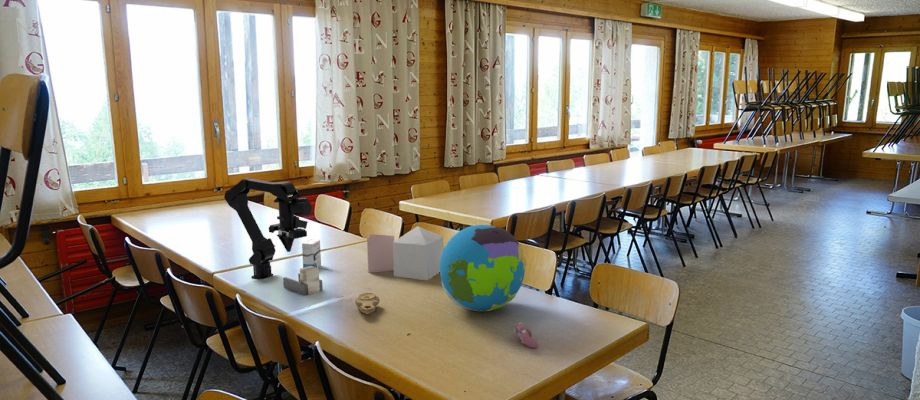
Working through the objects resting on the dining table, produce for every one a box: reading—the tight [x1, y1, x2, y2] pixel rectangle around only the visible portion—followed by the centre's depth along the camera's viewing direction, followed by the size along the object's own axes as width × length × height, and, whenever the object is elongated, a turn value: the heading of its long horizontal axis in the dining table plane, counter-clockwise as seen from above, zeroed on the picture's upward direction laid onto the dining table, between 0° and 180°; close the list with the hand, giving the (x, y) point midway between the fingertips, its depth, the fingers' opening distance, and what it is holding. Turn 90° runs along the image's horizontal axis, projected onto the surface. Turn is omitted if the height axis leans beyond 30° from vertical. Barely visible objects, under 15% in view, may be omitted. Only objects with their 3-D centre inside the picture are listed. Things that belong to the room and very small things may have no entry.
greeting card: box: [366, 233, 395, 273], centre depth 260 cm, size 11×7×15 cm, turn 71°
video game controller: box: [513, 322, 539, 349], centre depth 187 cm, size 10×5×7 cm, turn 6°
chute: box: [282, 272, 323, 296], centre depth 235 cm, size 14×8×5 cm, turn 49°
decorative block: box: [393, 226, 444, 281], centre depth 256 cm, size 16×16×20 cm
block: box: [299, 266, 321, 296], centre depth 231 cm, size 5×5×9 cm
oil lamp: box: [354, 292, 381, 315], centre depth 214 cm, size 11×14×5 cm
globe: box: [439, 224, 527, 312], centre depth 212 cm, size 30×30×30 cm
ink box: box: [301, 238, 322, 268], centre depth 265 cm, size 8×5×12 cm, turn 168°
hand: (288, 251), depth 247 cm, fingers closed
